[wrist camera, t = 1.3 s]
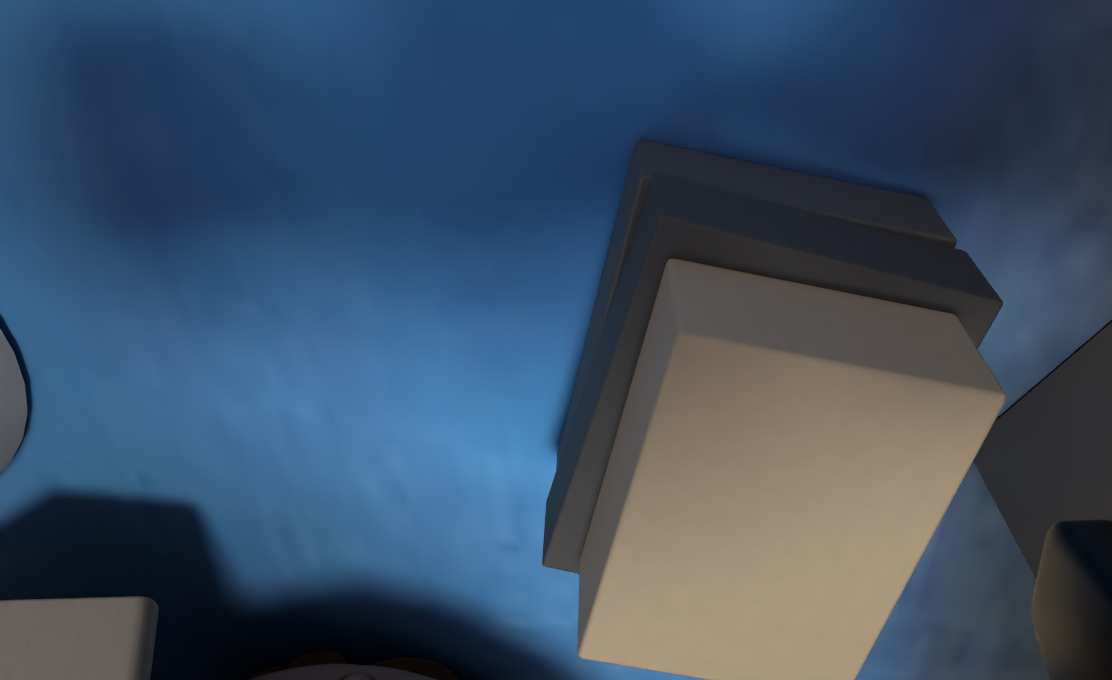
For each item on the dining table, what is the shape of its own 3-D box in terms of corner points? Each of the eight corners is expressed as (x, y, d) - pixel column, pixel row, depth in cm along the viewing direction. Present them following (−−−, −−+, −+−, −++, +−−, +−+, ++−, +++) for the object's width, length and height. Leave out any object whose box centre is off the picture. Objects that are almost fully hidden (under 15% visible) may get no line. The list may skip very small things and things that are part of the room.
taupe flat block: (667, 254, 16) (678, 332, 14) (957, 312, 16) (1010, 396, 14) (578, 560, 20) (576, 659, 17) (817, 602, 20) (844, 704, 18)
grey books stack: (628, 128, 19) (635, 210, 16) (940, 192, 19) (1014, 286, 16) (547, 456, 23) (538, 577, 20) (804, 502, 24) (839, 629, 20)
